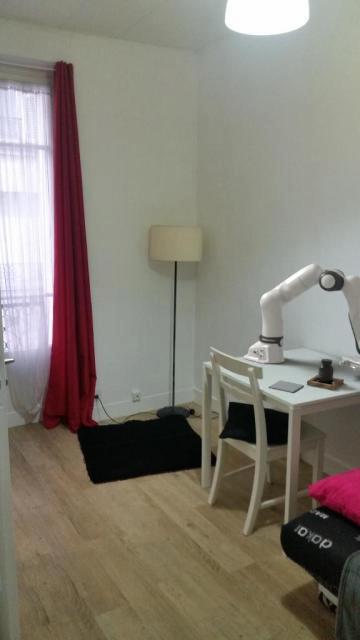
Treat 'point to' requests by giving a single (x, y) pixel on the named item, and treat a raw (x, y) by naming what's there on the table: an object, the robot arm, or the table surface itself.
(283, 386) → the grey mat
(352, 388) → the table surface
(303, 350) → the table surface
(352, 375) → the table surface
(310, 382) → the frame
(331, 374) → the supplement bottle
